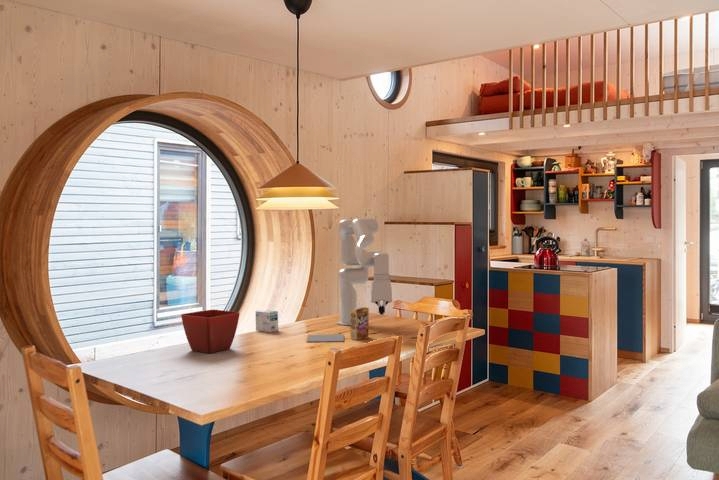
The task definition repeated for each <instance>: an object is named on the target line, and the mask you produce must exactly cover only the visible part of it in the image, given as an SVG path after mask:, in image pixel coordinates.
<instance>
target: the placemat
mask: <svg viewBox="0 0 719 480" xmlns="http://www.w3.org/2000/svg"><path fill="white" fill-rule="evenodd" d="M344 338H345V335H344V334H342V333H341V334H308V336H307V338H306V343H343V342H345V339H344Z"/></svg>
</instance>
